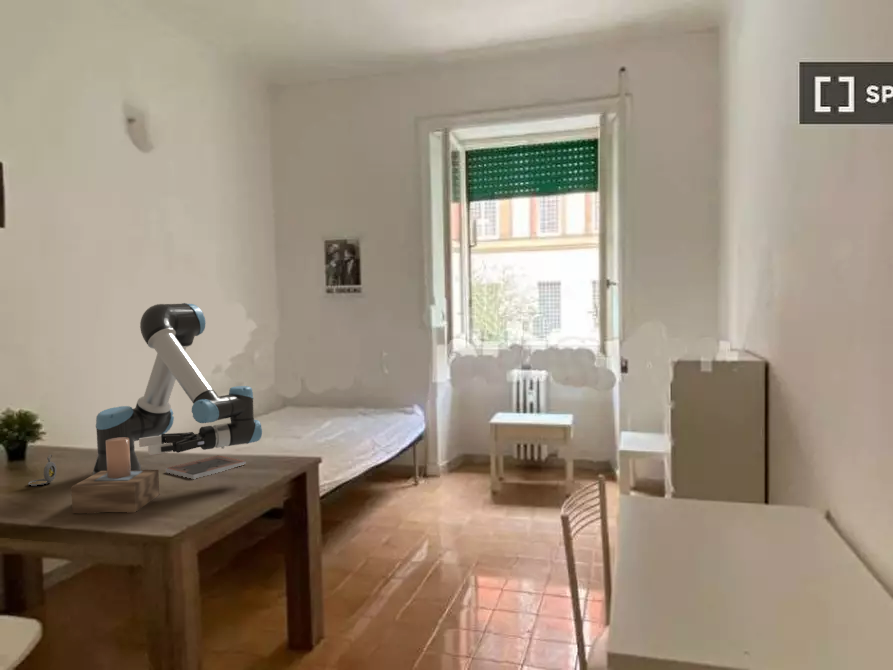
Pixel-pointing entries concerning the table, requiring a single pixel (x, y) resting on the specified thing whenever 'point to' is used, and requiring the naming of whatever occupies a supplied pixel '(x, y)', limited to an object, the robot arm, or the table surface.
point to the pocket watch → (47, 473)
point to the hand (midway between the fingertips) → (143, 446)
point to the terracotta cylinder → (118, 457)
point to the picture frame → (204, 467)
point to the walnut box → (115, 492)
